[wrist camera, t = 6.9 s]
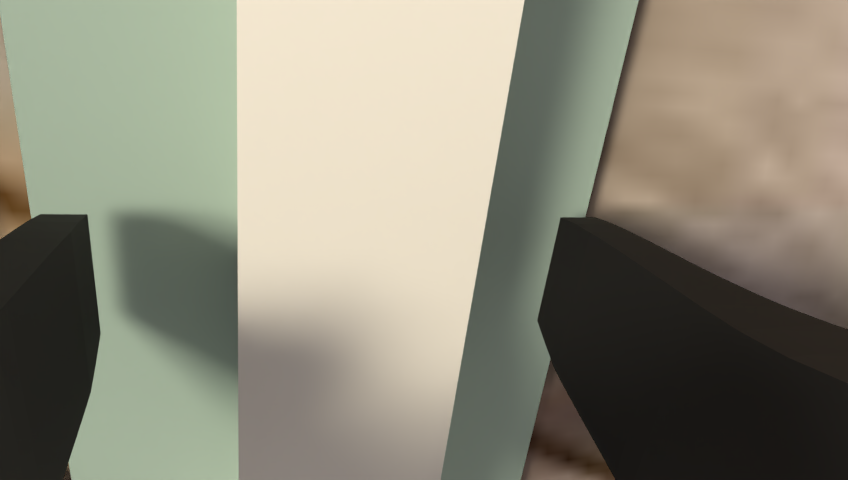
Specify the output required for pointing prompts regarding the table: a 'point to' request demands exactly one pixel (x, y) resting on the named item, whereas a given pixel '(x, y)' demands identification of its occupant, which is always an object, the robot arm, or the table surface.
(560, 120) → the mat
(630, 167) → the table surface
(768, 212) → the table surface
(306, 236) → the rail
